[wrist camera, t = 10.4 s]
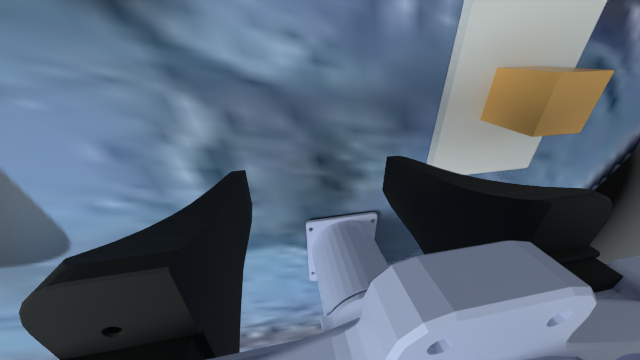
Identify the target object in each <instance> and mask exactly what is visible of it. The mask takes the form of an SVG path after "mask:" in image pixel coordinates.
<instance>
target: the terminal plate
mask: <svg viewBox="0 0 640 360" xmlns="http://www.w3.org/2000/svg"><path fill="white" fill-rule="evenodd" d="M606 2H607V0H464V4H463V8H462V13H461V17H460V21H459V26H458V30H457V34H456V38H455V43H454V47H453V51H452V56H451V60H450V64H449V69H448V73H447V77H446V81H445V86H444V90H443V94H442V99H441V103H440V107H439V112H438V116H437V120H436V124H435V129H434V133H433V137H432V142H431V146H430V150H429V155H428V159H427V163H426V164H429V165H432V166H435V167H438V168H441V169H444V170H448V171H451V172H455V173H458V174H462V175H467V174H476V173H485V172H494V171H503V170H511V169H520V168H528V166H529V163H530V161H531V159H532V157H533V155H534V153H535V151H536V149H537V147H538V145H539V143H540V140H541V138H542V136H538V137H531V136H528V135H525V134H522V133H518V132H515V131H512V130H509V129H506V128H503V127H500V126H497V125H494V124H491V123H488V122H485V121H482V120H480V119H481V116H482V113H483V110H484V107H485V103H486V100H487V97H488V94H489V91H490V88H491V85H492V82H493V79H494V76H495V73H496V70H497V68H502V67H531V66H548V67H566V68H575V67H576V65H577V63H578V61H579V59H580V56H581V54H582V52H583V50H584V48H585V46H586V44H587V42H588V40H589V38H590V35H591V33H592V31H593V29H594V27H595V25H596V23H597V21H598V19H599V17H600V15H601V12H602V10H603V8H604V6H605V4H606Z"/></svg>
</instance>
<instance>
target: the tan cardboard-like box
mask: <svg viewBox="0 0 640 360" xmlns="http://www.w3.org/2000/svg"><path fill="white" fill-rule="evenodd" d="M614 71H615V70H603V69H585V68H566V67H548V66H531V67H502V68H497V70H496V73H495V76H494V79H493V82H492V85H491V88H490V91H489V94H488V97H487V100H486V103H485V107H484V110H483V113H482V116H481V119H480V120H482V121H485V122H488V123H491V124H494V125H497V126H500V127H503V128H506V129H509V130H512V131H515V132H518V133H522V134H525V135H528V136H531V137H538V136H549V135H560V134H571V133H580V132H581V130H582V128H583V126H584V125H585V123H586V121H587V119H588V117H589V116H590V114H591V112H592V110H593V109H594V107H595V105H596V103H597V101H598V100H599V98H600V96H601V94H602V92H603V91H604V89H605V87H606V85H607V83H608V82H609V80H610V78H611V76H612V74H613V73H614Z"/></svg>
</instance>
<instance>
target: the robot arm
mask: <svg viewBox="0 0 640 360" xmlns="http://www.w3.org/2000/svg"><path fill="white" fill-rule="evenodd" d="M382 190H383V192H384V194H385V196H386V198H387V200H388V202H389V204H390V205H391V207H392V208H393V210H394V211H395V212H396V214H397V215H398V217H399V218H400V219H401V221H402V222H403V223H404V225H405V226H406V227H407V229H408V230H409V231H410V233H411V234H412V235H413V237H414V238H415V240H416V241H417V243H418V244H419V246H420V248H421V250H422V251H423V253H424V255H418V256H413V257H410V258H407V259H404V260H401V261H398V262H396V263H393V264H391V265H389V266H388V264H387V262H386V260H385V258H384V257H383V255H382V253H381V251H380V249H379V247H378V246H377V244H376V242H375V240H374V239H375V231H376V224H377V214H376V213H375V212H369V213H362V214H354V215H346V216H339V217H331V218H324V219H316V220H310V221H308V222H307V223H306V232H307V248H308V265H309V278H310V280H311V281H316V280H317V281H318V286H319V291H320V296H321V301H322V306H323V311H324V316H325V317H324V318H321V326H322V331H323V333H320V334H318V335H315V336H313V337H311V338H307V339H302V340H297V341H292V342H288V343H283V344H278V345H273V346H269V347H264V348H259V349H254V350H249V351H245V352H240V353H239V345H240V317H241V298H242V282H243V269H244V261H245V256H246V250H247V245H248V240H249V234H250V229H251V223H252V202H251V197H250V192H249V187H248V182H247V177H246V172H245V170H242V171H232V172H230V173H229V174H228V175H227V176H225V177H224V178H223V179H222V180H221V181H220V182H218V183H217V184H216V185H215V186H214V187H212V188H211V189H210V190H209V191H207V192H206V193H205V194H203V195H202V196H201V197H199V198H198V199H197V200H195V201H194V202H193V203H191V204H190V205H188V206H187V207H185V208H183V209H182V210H180V211H178V212H177V213H175V214H173V215H171V216H170V217H168V218H166V219H164V220H162V221H160V222H158V223H156V224H154V225H152V226H150V227H148V228H146V229H143V230H141V231H139V232H137V233H134V234H132V235H130V236H127V237H125V238H122V239H120V240H117V241H115V242H112V243H109V244H107V245H104V246H101V247H98V248H95V249H92V250H89V251H87V252H84V253H81V254H78V255H75V256H72V257H69V258H66V259H65V260H63V262H62V263H61V264H60V265H59V266H58V267H57V268H56V269H55V270H54V271H53V272H52V273H51V274H50V275H49V276H48V277H47V278H46V279H45V280H44V281H43V282H42V283H41V284H40V285H39V286H38V287H37V288H36V289H35V290H34V291H33V292H32V293H31V294H30V295H29V296H28V297H27V298H26V299H25V300H24V301H23V302H22V305H21V308H20V311H19V315H20V319H21V323H22V325H23V327H24V328H25V329H26V330H27V331H28V333H29V334H30V335H31V336H33V337H34V338H35V339H36V340H37V341H38V342H40V343H41V344H42V345H43V346H44V347H46V348H47V349H48V350H49V351H50V352H51V353H53V354H54V355H55V356H56V357H57V358H59V359H60V360H640V256H633V257H628V258H623V259H618V260H614V261H612V262H610V263H609V264H607V265H606V264H604V263H602V262H601V261H599V260H598V259H596V257H598V256H599V255H600V253H599V251H597V250H595V249H594V248H592V247H590V246H589V245H590V243H591V242H592V241H593V240H594V238H595V237H596V236H597V234H598V233H599V232H600V230H601V229H602V228H603V226H604V225H605V224H606V222H607V220H608V219H609V217H610V215H611V212H612V203H611V201H610V199H609V198H608V197H606V196H604V195H602V194H600V193H597V192H595V191H593V190H588V189H582V188H559V187H540V186H529V185H519V184H511V183H504V182H497V181H491V180H485V179H480V178H475V177H471V176H466V175H462V174H458V173H455V172H451V171H448V170H444V169H441V168H438V167H435V166H432V165H429V164H426V163H423V162H419V161H416V160H413V159H410V158H407V157H402V156H390V157H387V160H386V168H385V175H384V182H383V189H382ZM372 219H373V220H372ZM371 220H372V221H371ZM310 228H312V229H310Z"/></svg>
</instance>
